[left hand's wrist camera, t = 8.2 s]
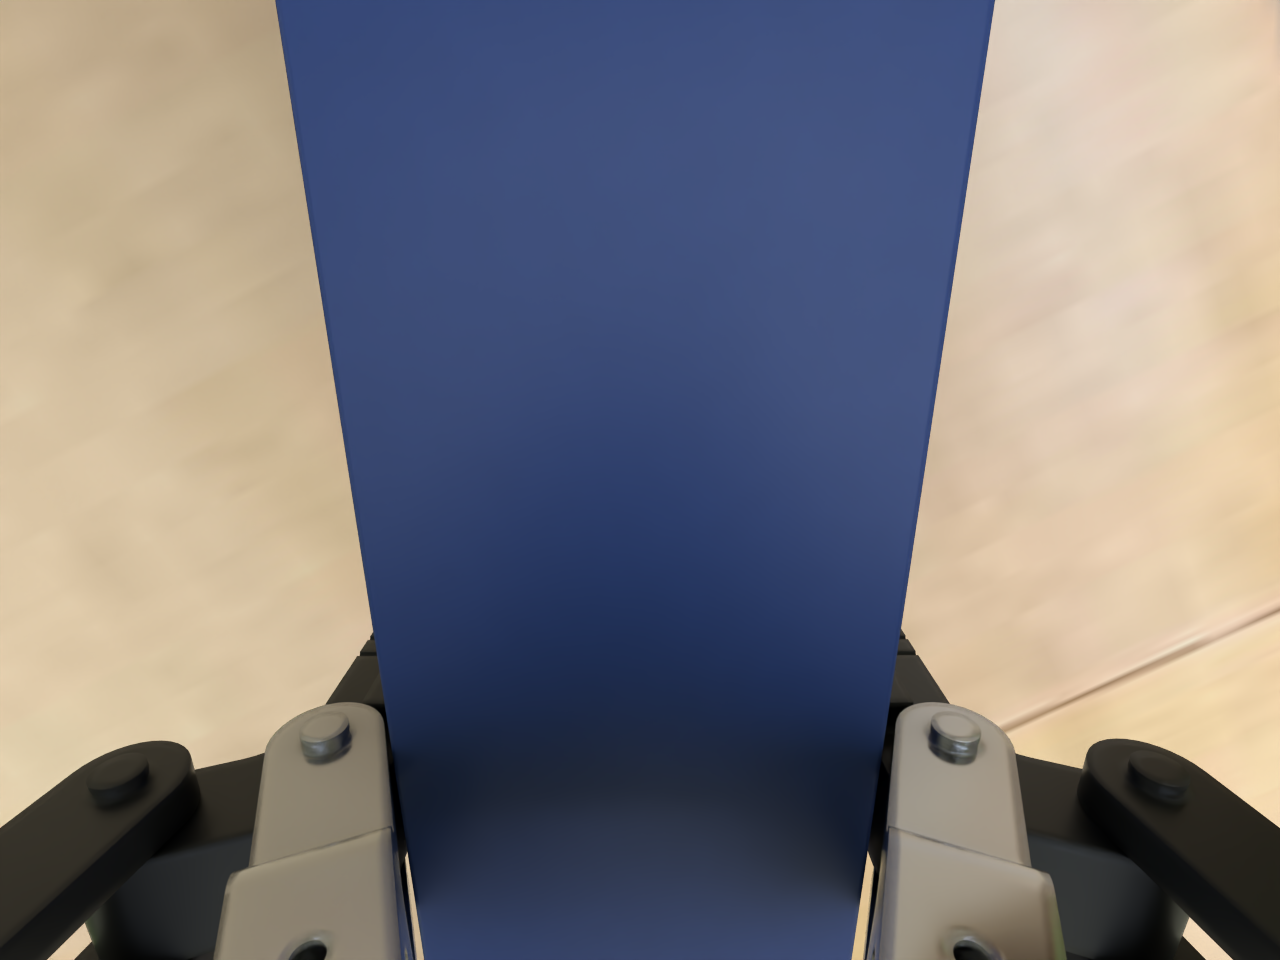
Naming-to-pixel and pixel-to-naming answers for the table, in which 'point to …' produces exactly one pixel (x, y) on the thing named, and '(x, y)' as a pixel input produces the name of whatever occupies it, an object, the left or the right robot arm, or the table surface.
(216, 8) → the table surface
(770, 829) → the bar
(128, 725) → the table surface
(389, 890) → the left robot arm
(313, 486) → the table surface
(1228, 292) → the table surface
